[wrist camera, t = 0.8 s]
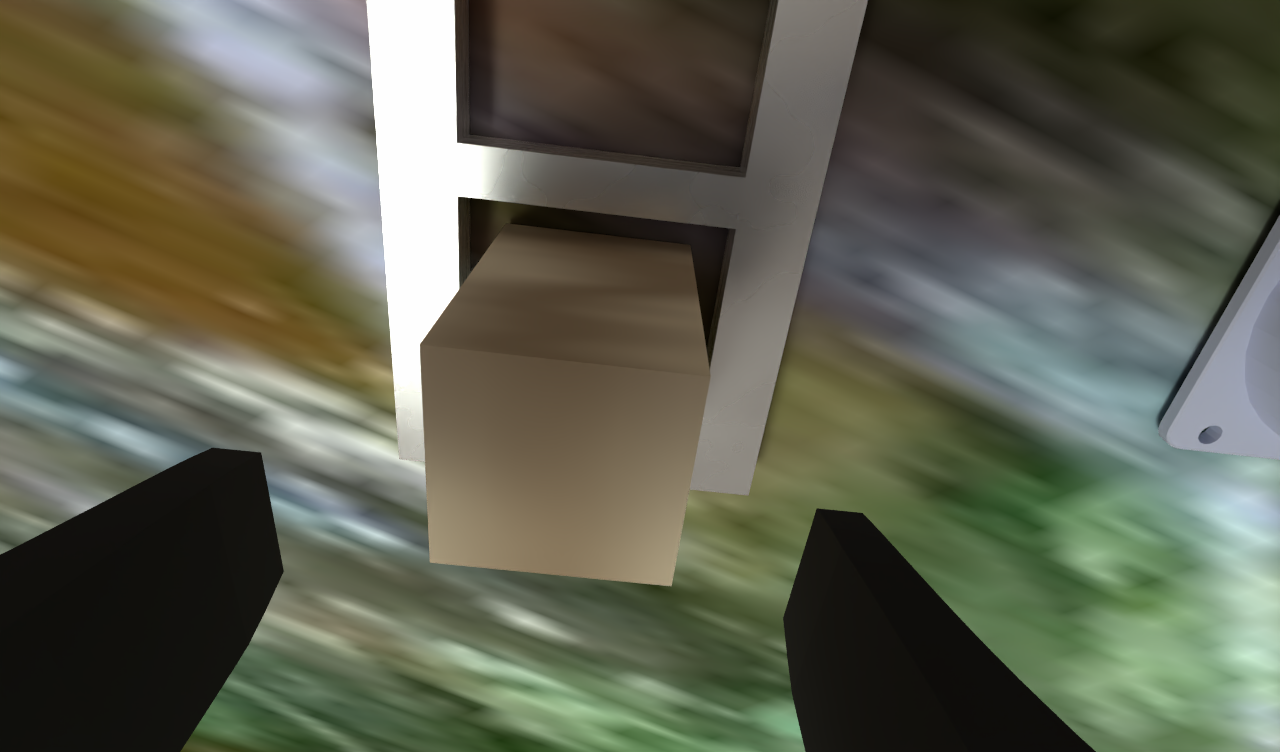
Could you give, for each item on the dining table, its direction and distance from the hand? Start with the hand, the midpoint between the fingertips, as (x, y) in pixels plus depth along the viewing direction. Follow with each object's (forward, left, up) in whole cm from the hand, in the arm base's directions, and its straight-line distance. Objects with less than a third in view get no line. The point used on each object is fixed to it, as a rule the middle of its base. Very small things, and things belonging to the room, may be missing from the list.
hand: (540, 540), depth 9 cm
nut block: (0, 0, -7) cm, 7 cm away
